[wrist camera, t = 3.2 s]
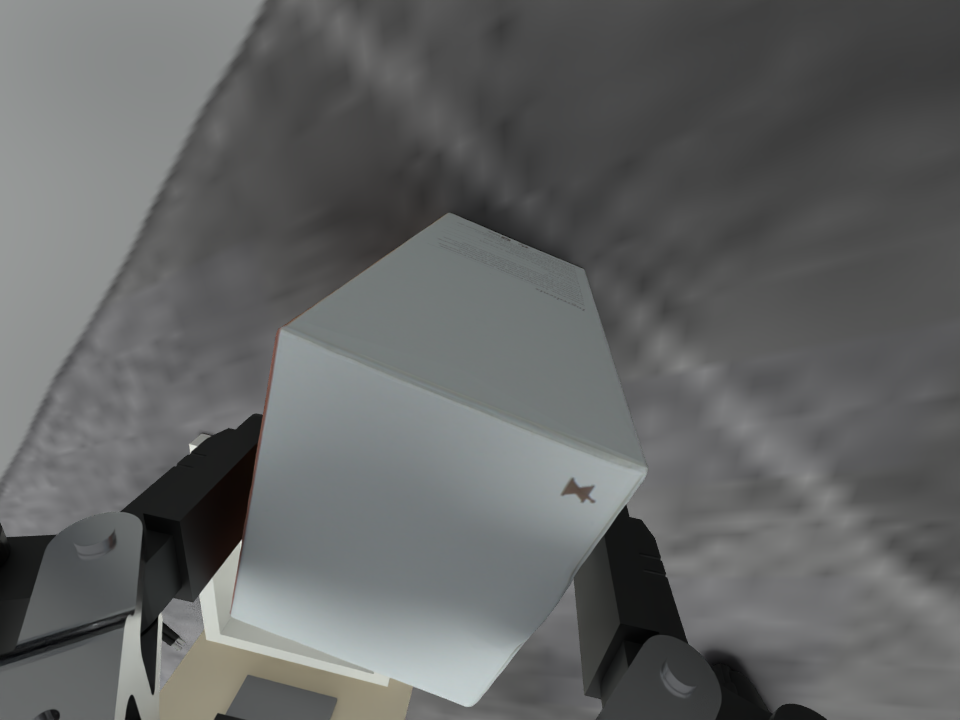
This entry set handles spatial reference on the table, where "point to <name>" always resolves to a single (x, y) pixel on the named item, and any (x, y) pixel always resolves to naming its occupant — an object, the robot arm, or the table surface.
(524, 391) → the small box
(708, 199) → the table surface
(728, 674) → the carrying case or bag
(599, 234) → the table surface
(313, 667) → the frame
